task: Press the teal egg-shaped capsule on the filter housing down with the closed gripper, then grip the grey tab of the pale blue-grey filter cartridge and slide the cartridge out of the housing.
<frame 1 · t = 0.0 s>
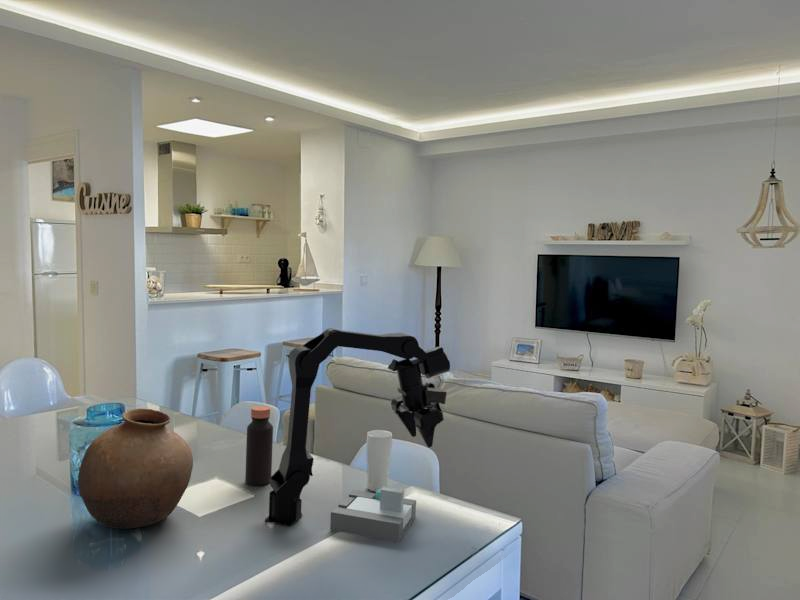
hand: (421, 441, 149), 15 cm above the table, tool pointing down, fingers open, 9 cm apart
pottery: (136, 523, 131), on the table
drinking glass: (377, 489, 157), on the table
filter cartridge: (379, 503, 136), point 5 cm above the table, slide at 0.0 cm
bottle: (258, 482, 158), on the table
filter housing: (374, 522, 137), on the table
teal egg-shaped capsule: (382, 497, 142), point 4 cm above the table, slide at 0.0 cm
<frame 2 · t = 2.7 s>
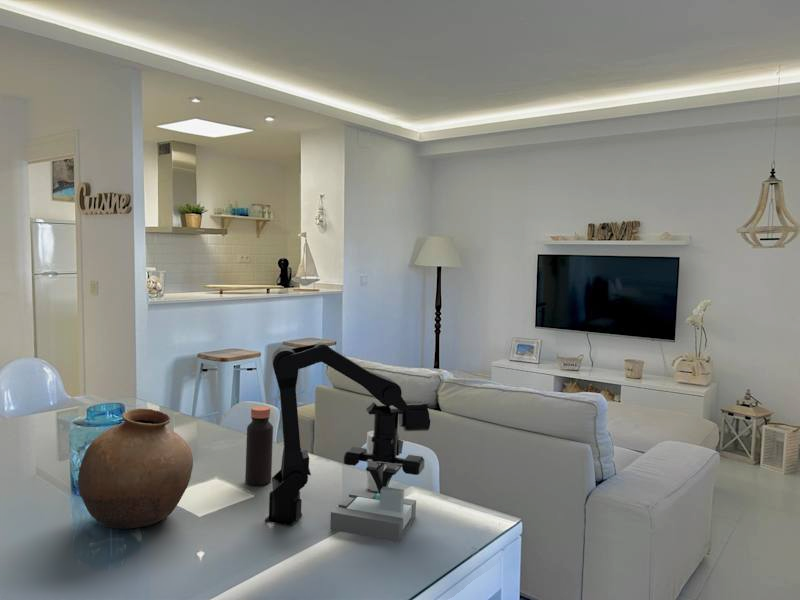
hand: (382, 495, 142), 4 cm above the table, tool pointing down, fingers closed, pressing on teal egg-shaped capsule
teal egg-shaped capsule: (382, 500, 142), point 3 cm above the table, slide at 0.9 cm, touching gripper
everything else where it was.
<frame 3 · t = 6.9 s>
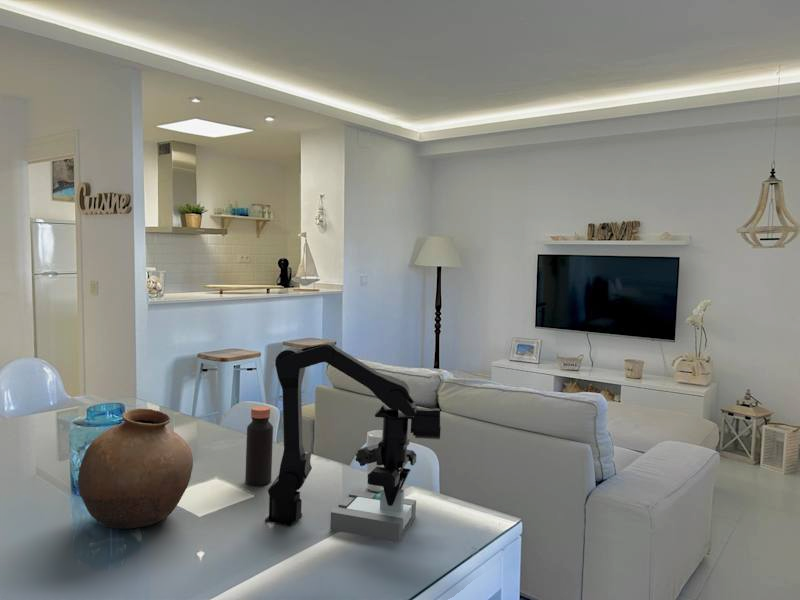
hand: (391, 503, 135), 5 cm above the table, tool pointing down, fingers closed on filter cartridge, 2 cm apart
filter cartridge: (379, 503, 136), point 5 cm above the table, slide at 0.0 cm, touching gripper
teal egg-shaped capsule: (382, 501, 142), point 3 cm above the table, slide at 1.0 cm
everything else where it was.
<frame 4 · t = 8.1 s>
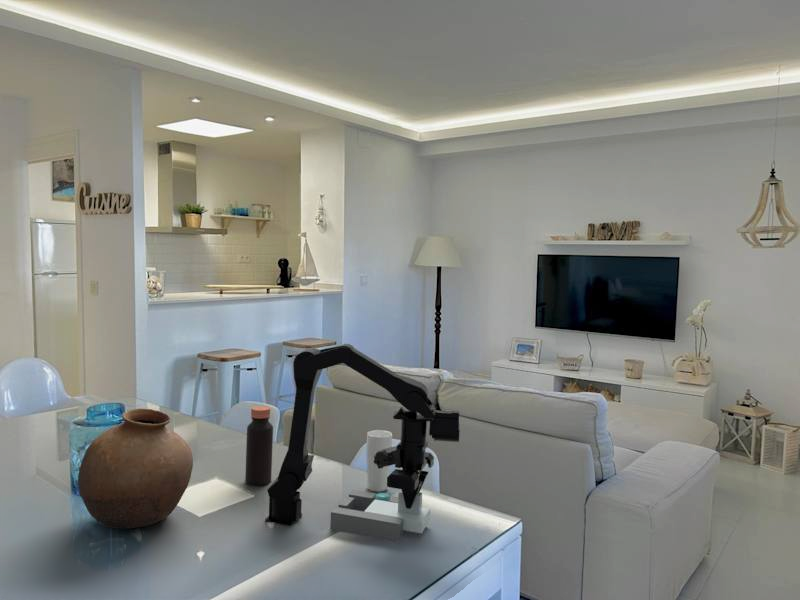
hand: (409, 506, 134), 5 cm above the table, tool pointing down, fingers closed on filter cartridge, 2 cm apart
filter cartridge: (397, 506, 135), point 5 cm above the table, slide at 4.3 cm, touching gripper
everything else where it was.
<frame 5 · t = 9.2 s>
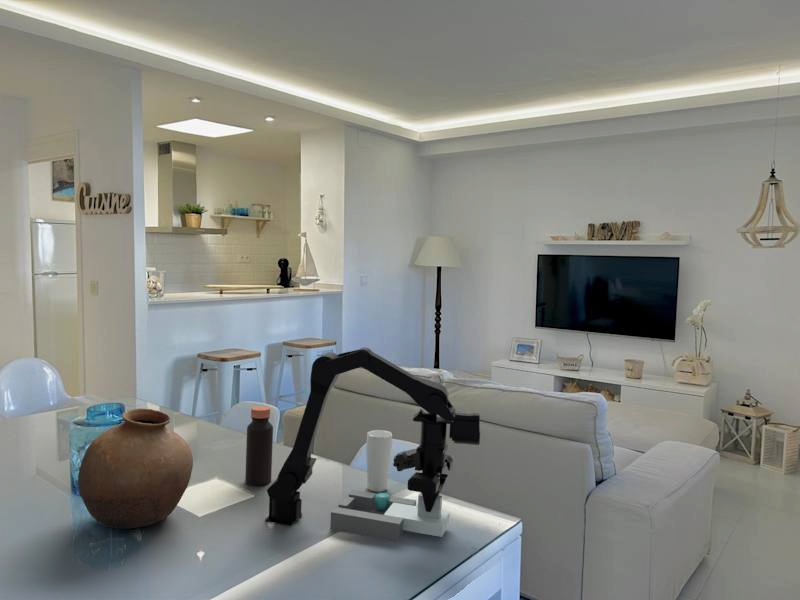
hand: (429, 509, 133), 5 cm above the table, tool pointing down, fingers closed on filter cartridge, 2 cm apart
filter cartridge: (417, 509, 133), point 5 cm above the table, slide at 8.9 cm, touching gripper
everything else where it was.
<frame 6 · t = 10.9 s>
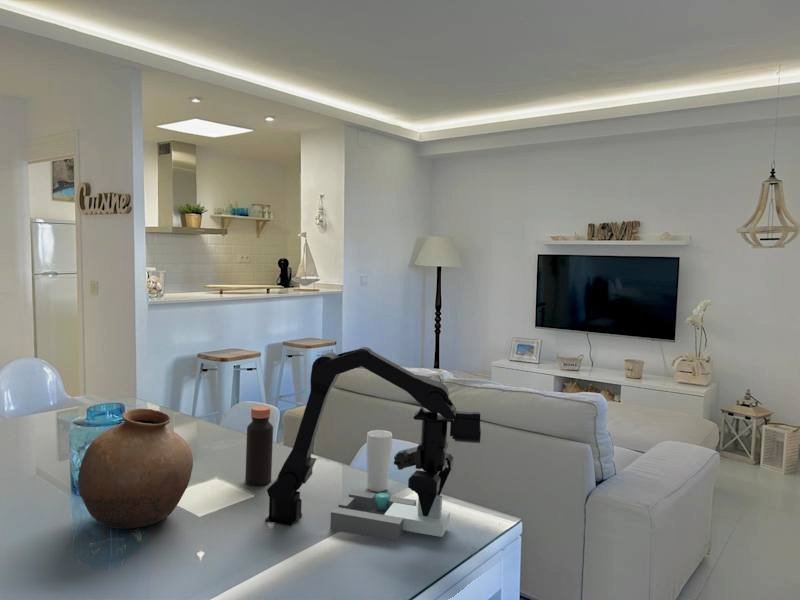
hand: (430, 507, 133), 6 cm above the table, tool pointing down, fingers open, 9 cm apart
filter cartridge: (417, 509, 133), point 5 cm above the table, slide at 9.0 cm
everything else where it was.
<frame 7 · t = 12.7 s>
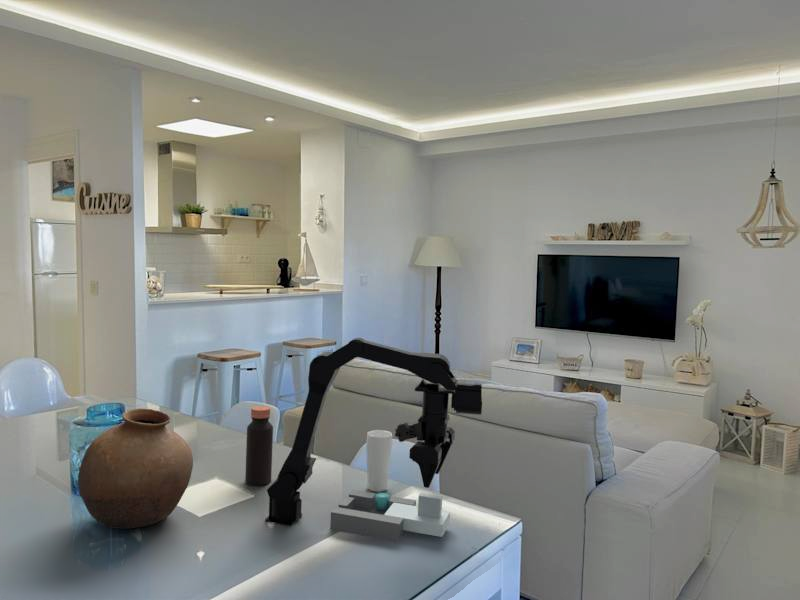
hand: (431, 480, 132), 12 cm above the table, tool pointing down, fingers open, 9 cm apart
nothing on the table moved.
at the end: teal egg-shaped capsule slide at 1.0 cm; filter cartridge slide at 9.0 cm; the gripper is holding nothing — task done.
